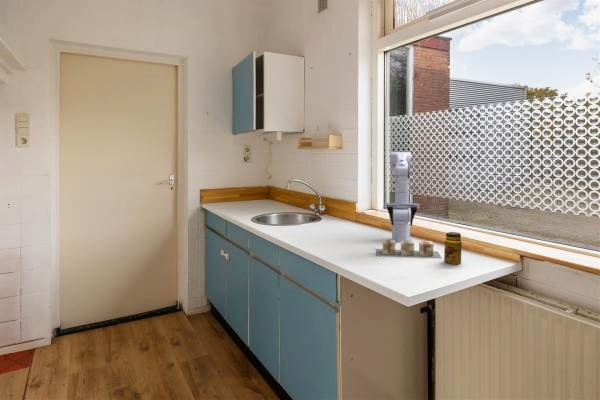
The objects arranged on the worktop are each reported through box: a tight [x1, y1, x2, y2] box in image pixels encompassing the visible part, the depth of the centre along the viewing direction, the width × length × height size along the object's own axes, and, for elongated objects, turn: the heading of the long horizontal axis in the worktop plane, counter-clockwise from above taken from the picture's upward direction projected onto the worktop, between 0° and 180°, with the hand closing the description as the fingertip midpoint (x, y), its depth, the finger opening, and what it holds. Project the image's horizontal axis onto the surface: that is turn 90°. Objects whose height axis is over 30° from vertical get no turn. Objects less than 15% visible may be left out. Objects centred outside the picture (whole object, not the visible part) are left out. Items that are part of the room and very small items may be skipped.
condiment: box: [443, 231, 463, 266], centre depth 148 cm, size 7×8×12 cm
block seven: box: [418, 240, 434, 256], centre depth 159 cm, size 5×5×5 cm
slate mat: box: [375, 248, 443, 259], centre depth 161 cm, size 26×11×1 cm, turn 79°
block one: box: [382, 239, 396, 255], centre depth 162 cm, size 5×5×5 cm
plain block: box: [400, 240, 415, 255], centre depth 161 cm, size 5×5×5 cm
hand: (401, 225), depth 164 cm, fingers open, 7 cm apart
